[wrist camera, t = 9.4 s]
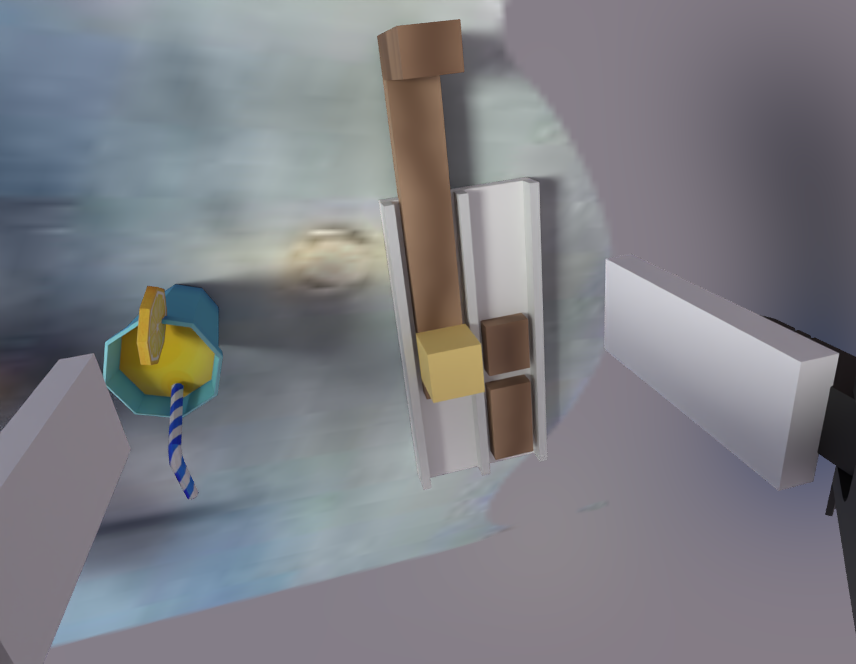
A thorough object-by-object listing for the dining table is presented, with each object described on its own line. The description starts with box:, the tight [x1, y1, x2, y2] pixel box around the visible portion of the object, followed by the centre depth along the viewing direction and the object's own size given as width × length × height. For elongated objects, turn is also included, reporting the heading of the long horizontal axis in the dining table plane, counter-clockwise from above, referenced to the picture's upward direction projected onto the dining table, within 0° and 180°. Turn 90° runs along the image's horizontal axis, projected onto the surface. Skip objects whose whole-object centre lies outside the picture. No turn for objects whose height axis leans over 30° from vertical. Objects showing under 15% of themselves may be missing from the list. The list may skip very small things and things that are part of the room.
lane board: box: [379, 177, 547, 490], centre depth 54 cm, size 13×28×3 cm, turn 7°
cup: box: [103, 284, 223, 499], centre depth 42 cm, size 14×8×15 cm, turn 8°
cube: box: [416, 324, 485, 403], centre depth 50 cm, size 4×4×4 cm
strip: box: [377, 19, 464, 399], centre depth 45 cm, size 4×30×8 cm, turn 7°
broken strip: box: [480, 313, 533, 460], centre depth 56 cm, size 4×14×2 cm, turn 7°
